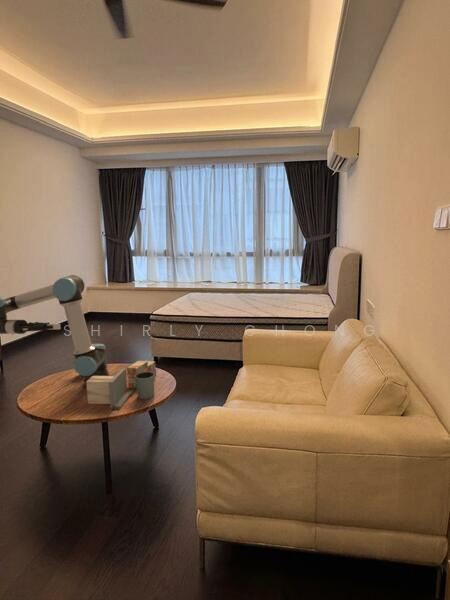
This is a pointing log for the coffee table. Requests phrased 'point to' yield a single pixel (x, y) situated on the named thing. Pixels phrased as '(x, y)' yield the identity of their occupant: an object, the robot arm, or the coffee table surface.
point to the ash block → (98, 389)
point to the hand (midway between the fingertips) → (59, 326)
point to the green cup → (145, 384)
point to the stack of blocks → (139, 371)
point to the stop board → (119, 390)
